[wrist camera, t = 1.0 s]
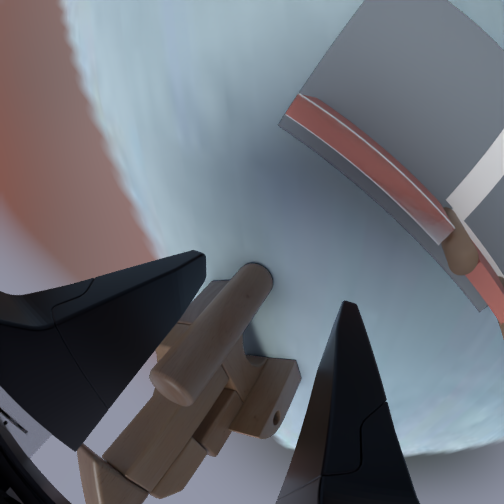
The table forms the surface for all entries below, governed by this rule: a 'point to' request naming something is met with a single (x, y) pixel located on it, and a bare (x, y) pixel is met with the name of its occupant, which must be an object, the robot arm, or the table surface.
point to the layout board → (422, 114)
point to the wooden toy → (196, 397)
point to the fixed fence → (473, 266)
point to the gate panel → (372, 163)
